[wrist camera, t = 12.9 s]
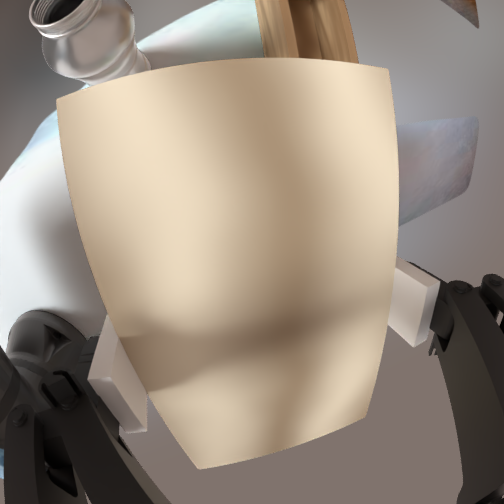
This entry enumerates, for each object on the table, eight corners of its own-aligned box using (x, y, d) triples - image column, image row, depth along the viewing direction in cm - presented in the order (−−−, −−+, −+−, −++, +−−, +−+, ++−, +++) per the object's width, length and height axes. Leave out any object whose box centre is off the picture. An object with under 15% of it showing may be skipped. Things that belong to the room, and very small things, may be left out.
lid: (193, 442, 13) (198, 469, 12) (79, 108, 7) (56, 99, 5) (350, 395, 15) (365, 416, 13) (355, 77, 9) (388, 69, 7)
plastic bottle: (112, 121, 25) (20, 82, 7) (89, 76, 22) (-1, 6, 4) (163, 90, 26) (143, 0, 7) (138, 46, 23) (103, -62, 5)
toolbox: (267, 143, 30) (315, 140, 20) (244, -13, 22) (275, -66, 11) (341, 138, 32) (407, 139, 21) (316, -6, 24) (364, -45, 13)
